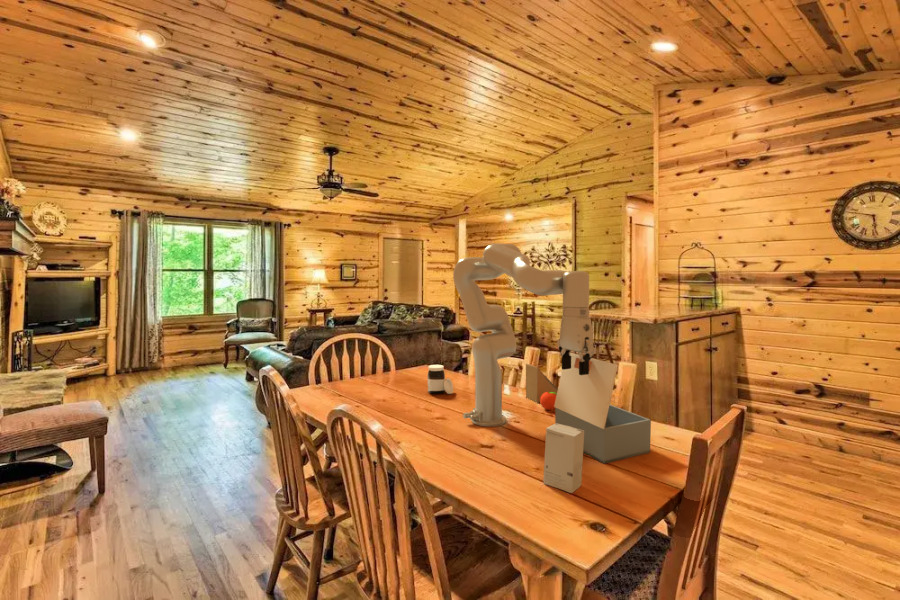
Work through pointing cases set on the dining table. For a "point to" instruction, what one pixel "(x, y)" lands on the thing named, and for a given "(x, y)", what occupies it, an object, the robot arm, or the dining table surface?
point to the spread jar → (438, 380)
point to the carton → (612, 434)
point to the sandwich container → (537, 384)
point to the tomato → (548, 400)
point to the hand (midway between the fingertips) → (574, 371)
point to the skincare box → (563, 457)
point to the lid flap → (587, 390)
